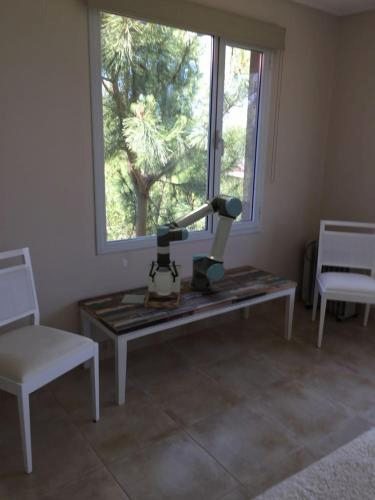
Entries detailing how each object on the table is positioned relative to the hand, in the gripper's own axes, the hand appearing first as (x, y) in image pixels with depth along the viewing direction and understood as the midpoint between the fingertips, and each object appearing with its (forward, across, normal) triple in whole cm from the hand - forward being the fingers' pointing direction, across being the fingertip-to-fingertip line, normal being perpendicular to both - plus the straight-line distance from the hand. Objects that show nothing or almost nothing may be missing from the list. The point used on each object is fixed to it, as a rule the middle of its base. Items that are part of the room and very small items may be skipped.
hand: (163, 287), depth 253 cm
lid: (-2, 0, -10) cm, 11 cm away
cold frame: (+9, +1, 0) cm, 10 cm away
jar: (+4, 0, 0) cm, 4 cm away
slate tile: (+9, +19, 0) cm, 21 cm away
